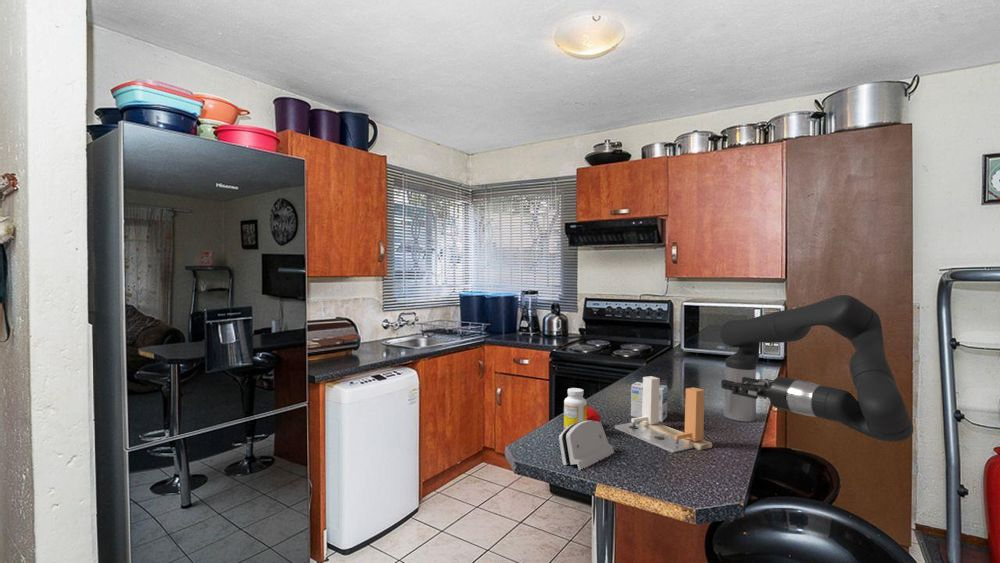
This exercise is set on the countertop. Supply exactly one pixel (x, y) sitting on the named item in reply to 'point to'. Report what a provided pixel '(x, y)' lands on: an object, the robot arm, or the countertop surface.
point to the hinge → (584, 444)
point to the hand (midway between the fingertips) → (732, 382)
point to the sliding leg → (693, 415)
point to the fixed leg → (649, 401)
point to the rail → (671, 432)
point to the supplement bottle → (574, 407)
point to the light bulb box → (638, 396)
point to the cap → (592, 415)
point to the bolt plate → (654, 437)
